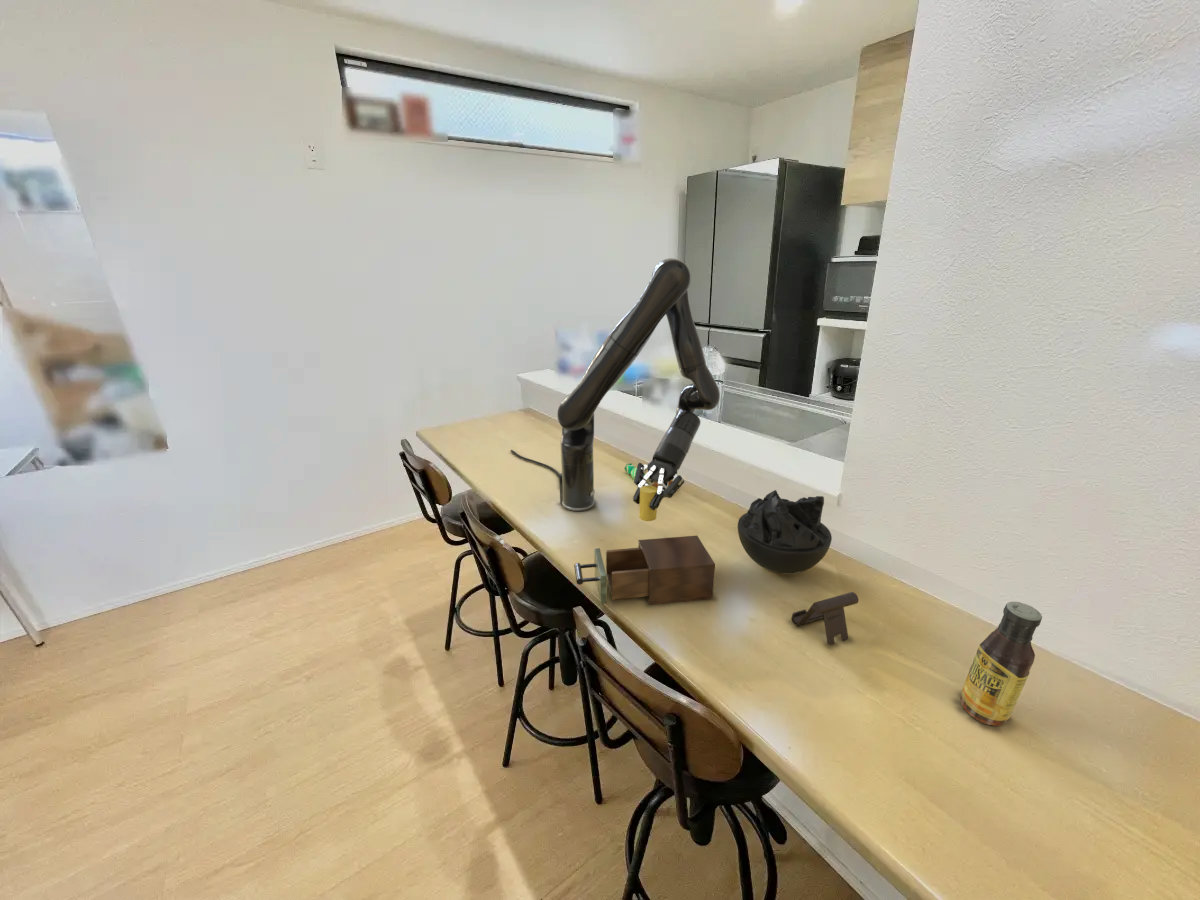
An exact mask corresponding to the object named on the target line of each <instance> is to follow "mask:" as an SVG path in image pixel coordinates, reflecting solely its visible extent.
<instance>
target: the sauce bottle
mask: <svg viewBox="0 0 1200 900" xmlns="http://www.w3.org/2000/svg"><path fill="white" fill-rule="evenodd" d="M1002 612H1003V615H1002V618H1001V620H1000V623H999V624H998V626H997V627H996V628H995V629H994V630H993V631H992V632H991V633H989V634H988V636H986V637H985V639H983V640H982V642H980V643H979V646H978V648H977V650H976V653H975V656H974V658H973V661H972V663H971V665H970V668H969V671H968V673H967V676H966V679H965V682H964V683H963V686H962V689H961V695H960V704H961V707H962V709H963V710H964V711H965V712H966V713H968V714H969V716H971V717H972V718H974V719H975V720H977V721H978V722H980V723H982V724H984V725H990V726H993V727H995V726H996V727H999V726H1002V725H1004V724H1005V723H1006V722H1007V721H1008V720H1009V719H1010V718H1011V715H1012V713H1013V711H1014V709H1015V707H1016V704H1017V702H1018V700H1019V698H1020V696H1021V693H1022V691H1023V689H1024V686H1025V684H1026V682H1027V680H1028V677H1029V676H1030V671H1031V668H1032V666H1033V664H1034V662H1035V659H1036V654H1035V651H1034V649H1033V645H1032V640H1033V638H1034V637H1033V636H1034V634H1035V632H1036V629H1037V628H1038V627H1039V626H1040V625H1041V622H1042V620H1043V616H1042V613H1040V611H1038V609H1036V608H1035V607H1033V606H1032V605H1029V604H1027V603H1023V602H1021V601H1009V602H1007V603H1006V604H1005V606H1004V608H1003V610H1002Z"/></svg>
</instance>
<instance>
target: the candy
mask: <svg viewBox="0 0 1200 900" xmlns="http://www.w3.org/2000/svg"><path fill="white" fill-rule="evenodd" d="M636 470H637V466H634V464H633V463H626V464H625V466H624V471H625V472H626V473H627V474H628V475H630V476H631V478H632V479H634V478H635V474H636ZM646 474H647V473H644V476H645V475H646ZM649 480H650V478H649Z"/></svg>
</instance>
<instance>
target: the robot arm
mask: <svg viewBox="0 0 1200 900" xmlns="http://www.w3.org/2000/svg"><path fill="white" fill-rule="evenodd" d="M691 278H692V275H691V271H690V268H689V267H688V265H686V263H685V262H683V261H681V260H679V259H677V258H673V257H672V258H666V259H662V260H660V261H659V262H658V263H657V264H656V265H655V267H654V268H653V269H652V273H651V278H650V280H649V282H648V284H647V286H646V288H645V289H644V290H643V292H642V294H641V295H640V297H639V299H638V300H637V302H636V303H635V304H634V306H633V307H632V308H631V309H630V310H629V311H628V312H627V313H626V314H625V315H624V316H623V317H622V318H621V319H620V320H619V322H617V324H615V326H614V327H613V328H612V329H611V331H610V332H609V334H607V336H606V338H605V339H604V341H603V342H602V343H601V345H600V347H599V348H598V350H597V352H596V353H595V354H594V357H593V358H592V360H591V362H590V363H589V366H588V368H587V370H586V371H585V373H584V375H583V377H582V378H581V380H580V381H579V383H578V384H576V386H575V388H573V390H572V391H571V392H570V393H569V394H567V395H566V396H565V397H564V398H563V399H562V401H561V402H560V403H559V405H558V408H557V414H556V415H557V416H556V417H557V421H558V424H559V425H560V427H561V437H560V465H561V473H560V472H558V471H557V470H556V469H555V468H554V467H552V466H550V465H549V464H548V465H547V464H546V463H543V462H540V461H536V460H534V459H531V458H528V457H525V456H522V455H520V454H518V453H517V452H516V451H514V450H513V449H510V452H511V453H512V454H513V455H515V456H516V457H518V458H520V459H522V460H525V461H528V462H531V463H534V464H537V465H540V466H543V467H545V468H548V469H550V470H551V471H553V472H554V473H555V474H556V475H557V477H558V482H559V503H560V505H561V506H562V507H563V508H564V509H566V510H569V511H572V512H583V511H588V510H591V508H593V507H594V506H595V493H596V491H595V476H594V475H595V474H594V473H595V472H594V441H595V411H596V410H597V408H598V407H599V405H600V404H601V402H602V400H603V399H604V397H605V396H606V395H607V393H609V391H610V390H611V389H612V388H613V387H614V386H615V385H616V383H617V382H618V381H619V380H621V378H622V376H623V375H624V374H625V373H626V372H627V370H628V369H629V368H630V367H631V366H632V365H633V363H634V361H635V360H636V359H637V358H638V356H639V355H640V353H641V352H642V351H643V349H644V347H645V346H646V345H647V343H648V341H649V340H650V338H651V336H652V334H653V333H654V332H655V330H656V328H657V327H658V326H659V323H660V322H661V321H662V320H663V318H665V317H666V319H667V322H668V327H669V331H670V336H671V341H672V345H673V350H674V356H675V358H676V363H677V366H678V370H679V373H680V375H681V377H682V378H684V379H687V380H689V381H691V382H692V383H688V384H687V385H686V386H684V388H683V389H682V390H681V391H680V394H679V397H678V402H677V406H676V410H675V411H676V412H675V415H674V418H673V419H672V421H671V423H670V425H669V427H668V428H667V430H666V431H665V433H664V434H663V436H662V437H661V440H660V441H659V443H658V446H657V447H656V450H655V451H654V453H653V455H652V459H651V461H650V462H648V463H647V464H643V463H642V462H638V464H637V466H636V467H637V470H636V474H635V478H633V483H634V485H636V486H637V488H636V491H635V493H634V495H633V497H632V499H633V501H632V502H634V503H635V504H636V505H640V488H641V487H642V486H647V485H649V486H651V485H652V484H653V483H654V482H655V483H658V490H657V494H655V495H654V497H653V499H652V501H651V503H650V505H649V507H650V508H651V509H652V510H655V509H657V510H658V508H659V506H660V505H661V502H662V500H663V499H664V498H668V499H671V498H672V497H673V496H674V495H675V494H676V493H677V491H678V490H679V489H680V488H681V487H682V486H683V484H685V479H684V478H683V476H681V475H680V474H678V471H679V470H680V468H681V467H682V464H683V463H684V460H685V458H686V457H687V454H688V453H689V450H690V449H691V447H692V443H693V441H694V439H695V437H696V434H697V433H698V431H699V428H700V427H701V422H702V421H701V419H700V417H699V416H698V415H697V414H695V411H696V410H698V411H699V410H700V411H711V410H714V409H716V408H717V407H718V406H719V403H720V400H721V393H720V387H719V386H718V384H717V381H716V379H715V378H714V376H713V375H712V373H711V370H710V369H709V367H708V365H707V363H706V358H705V354H704V349H703V346H702V342H701V338H700V335H699V333H698V330H697V327H696V324H695V321H694V318H693V315H692V310H691V306H690V300H689V291H688V289H689V288H690V285H691V281H692V280H691ZM644 473H645V474H646V475H645V476H644ZM649 478H650V480H649ZM672 479H673V482H672V483H671V484H670V485H669V486H668V483H669V481H671V480H672Z"/></svg>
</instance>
